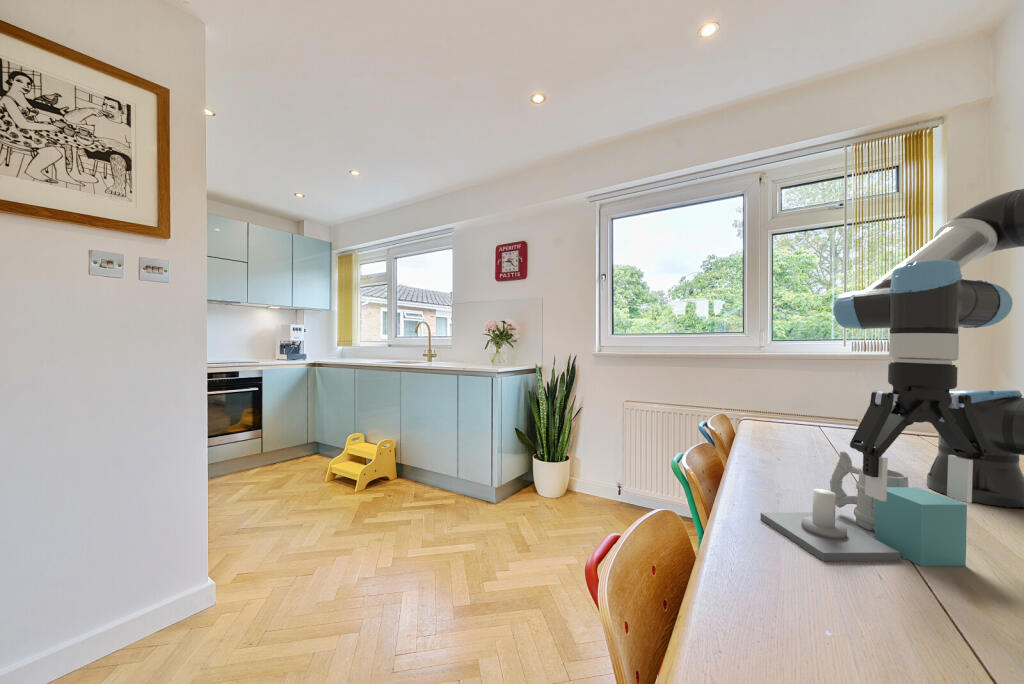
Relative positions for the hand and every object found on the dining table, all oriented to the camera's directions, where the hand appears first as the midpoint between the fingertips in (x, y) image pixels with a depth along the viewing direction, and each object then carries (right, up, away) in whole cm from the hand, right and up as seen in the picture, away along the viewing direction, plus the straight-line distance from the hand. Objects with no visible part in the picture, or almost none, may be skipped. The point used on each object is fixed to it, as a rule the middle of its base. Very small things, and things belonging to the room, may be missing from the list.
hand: (917, 498), depth 62 cm
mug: (+2, -9, +11) cm, 14 cm away
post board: (-11, -8, +5) cm, 14 cm away
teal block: (0, -9, 0) cm, 9 cm away
